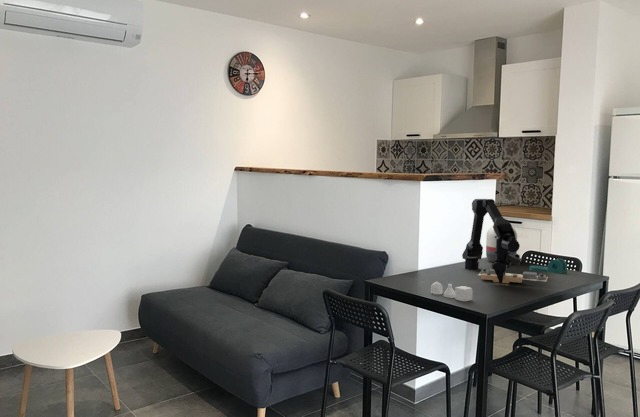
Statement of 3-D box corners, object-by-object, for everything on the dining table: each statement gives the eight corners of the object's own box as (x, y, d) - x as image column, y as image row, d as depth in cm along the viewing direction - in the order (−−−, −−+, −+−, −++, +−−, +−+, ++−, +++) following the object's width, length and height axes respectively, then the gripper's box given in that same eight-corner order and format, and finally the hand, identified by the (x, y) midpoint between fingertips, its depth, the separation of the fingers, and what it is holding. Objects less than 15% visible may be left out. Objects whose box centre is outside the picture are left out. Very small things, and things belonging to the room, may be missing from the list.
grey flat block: (522, 278, 258) (522, 273, 258) (523, 275, 263) (524, 271, 263) (544, 280, 253) (544, 275, 253) (545, 277, 258) (545, 273, 258)
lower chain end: (480, 274, 267) (480, 269, 267) (482, 272, 272) (482, 267, 272) (501, 276, 262) (501, 271, 262) (502, 273, 268) (503, 269, 267)
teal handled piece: (566, 274, 273) (567, 259, 272) (560, 276, 269) (561, 260, 268) (533, 269, 287) (533, 254, 286) (527, 270, 282) (527, 256, 281)
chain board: (477, 277, 265) (477, 275, 265) (481, 272, 275) (481, 270, 275) (546, 283, 250) (546, 281, 250) (548, 278, 261) (548, 276, 261)
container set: (472, 300, 219) (472, 287, 218) (464, 302, 216) (464, 289, 215) (436, 291, 235) (436, 279, 235) (428, 293, 232) (428, 280, 232)
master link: (481, 282, 252) (481, 273, 252) (482, 281, 256) (482, 271, 255) (521, 286, 244) (521, 276, 244) (521, 284, 248) (522, 275, 247)
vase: (499, 265, 297) (501, 223, 295) (479, 260, 312) (480, 220, 311) (522, 263, 304) (524, 222, 302) (501, 258, 319) (502, 219, 317)
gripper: (518, 253, 237) (516, 287, 238) (522, 247, 253) (521, 279, 254) (492, 251, 242) (491, 284, 243) (498, 245, 258) (497, 277, 260)
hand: (501, 281), depth 250 cm, fingers closed on master link, 4 cm apart
